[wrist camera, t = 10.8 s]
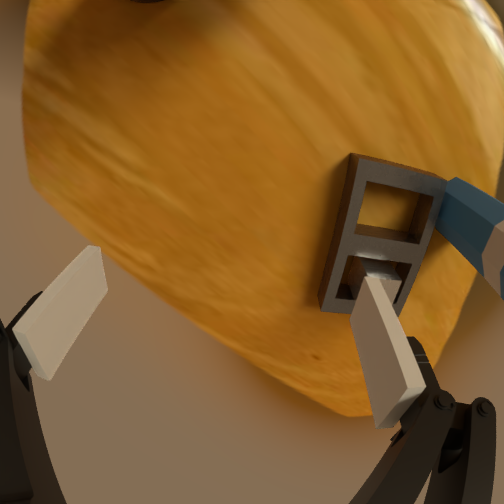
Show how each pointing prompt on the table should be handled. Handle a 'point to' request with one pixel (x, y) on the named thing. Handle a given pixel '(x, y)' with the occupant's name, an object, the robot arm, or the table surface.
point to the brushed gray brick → (373, 275)
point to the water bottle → (475, 229)
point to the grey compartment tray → (379, 229)
